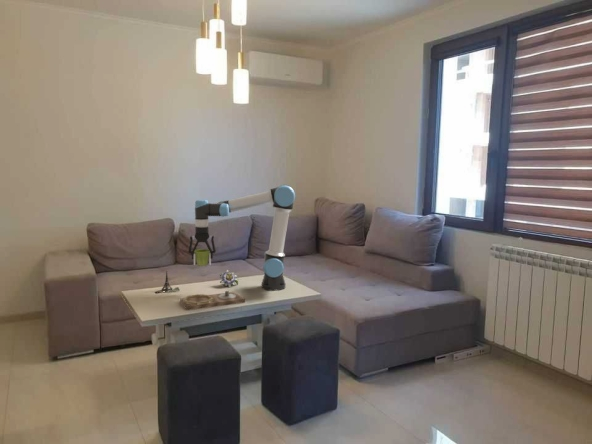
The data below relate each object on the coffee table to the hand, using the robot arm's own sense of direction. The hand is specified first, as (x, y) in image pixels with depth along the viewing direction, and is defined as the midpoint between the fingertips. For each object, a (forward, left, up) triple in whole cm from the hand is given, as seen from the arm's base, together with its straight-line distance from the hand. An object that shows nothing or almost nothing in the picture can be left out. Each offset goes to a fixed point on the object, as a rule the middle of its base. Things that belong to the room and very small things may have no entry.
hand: (202, 264), depth 271 cm
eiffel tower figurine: (+22, -7, -18) cm, 29 cm away
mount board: (-7, +20, -17) cm, 27 cm away
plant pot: (0, 0, 0) cm, 0 cm away
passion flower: (-15, -16, -17) cm, 28 cm away
